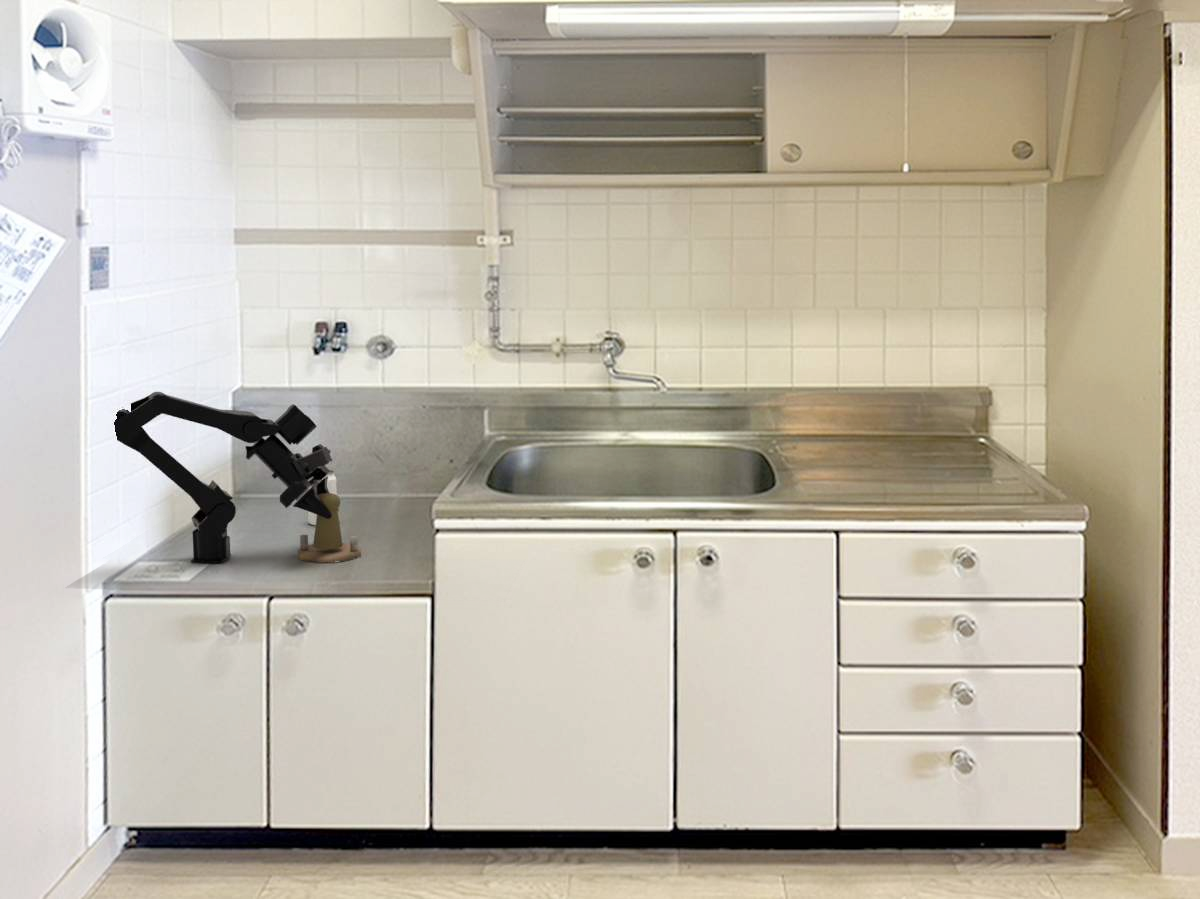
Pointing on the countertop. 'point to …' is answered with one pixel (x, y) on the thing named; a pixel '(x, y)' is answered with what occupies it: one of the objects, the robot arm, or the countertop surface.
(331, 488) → the can
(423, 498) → the countertop surface
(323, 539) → the cork
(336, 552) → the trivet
